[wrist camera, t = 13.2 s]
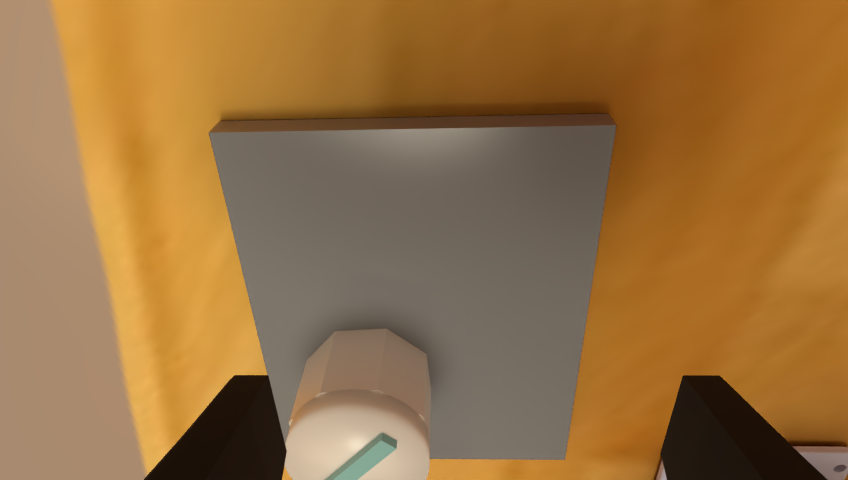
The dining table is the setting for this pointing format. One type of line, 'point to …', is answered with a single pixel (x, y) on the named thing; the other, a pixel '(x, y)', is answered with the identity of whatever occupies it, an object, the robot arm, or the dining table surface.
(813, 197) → the dining table surface
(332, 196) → the board
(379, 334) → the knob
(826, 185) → the dining table surface
